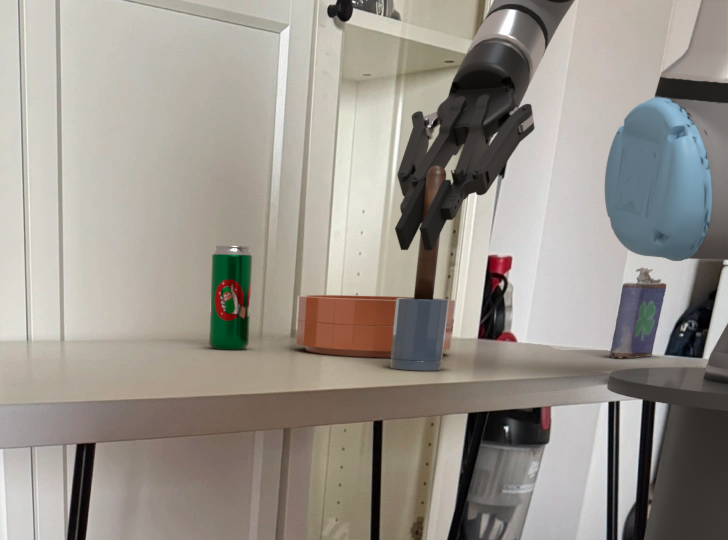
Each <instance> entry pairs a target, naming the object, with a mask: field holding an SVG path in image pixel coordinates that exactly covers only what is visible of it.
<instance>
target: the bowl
mask: <svg viewBox="0 0 728 540" xmlns="http://www.w3.org/2000/svg"><path fill="white" fill-rule="evenodd" d="M396 298H414V296H391V295H390V296H388V295H358V294H357V295H354V294H353V295H351V294H350V295H349V294H348V295H347V294H345V295H344V294H299V295H297V299H296V300H297V303H296V319H295V337H294V343H295V345H298V346H302V347H305V351H306V352H309V353H313V354H320V355H328V356H329V355H330V356H341V357H354V358H355V357H357V358H358V357H359V358H384V359H386V358H387V359H391V348H392V337H393V327H394V317H395V306H396ZM433 299H440V298H439V297H437V298H436V297H433ZM446 299H447V300H449V306H448V315H447V323H446V332H445V341H444V349H443V351H448V350H450V349H451V347H452V339H453V330H454V321H455V310H456V304H457V299H451V298H446Z"/></svg>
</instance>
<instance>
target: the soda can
mask: <svg viewBox="0 0 728 540" xmlns="http://www.w3.org/2000/svg"><path fill="white" fill-rule="evenodd" d="M250 249H251V248H250V246H245V245H215V246H214V251H213V252H212V254H211V269H210V270H211V271H210V301H209V302H210V304H209V306H210V307H209V338H208V339H209V340H208V344H209V346H210V347H211V348H212V349H215V350H223V351H224V350H225V351H240V350H242V351H243V350H245V349H246V348H247V347H248V346H249V343H250V342H249V341H250V340H249V339H250V319H251V318H250V317H251V296H252V295H251V294H252V272H253V255H252V253H251V250H250Z"/></svg>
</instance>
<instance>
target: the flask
mask: <svg viewBox="0 0 728 540" xmlns="http://www.w3.org/2000/svg"><path fill="white" fill-rule="evenodd" d="M653 271H654V270H653V269H652V268H651V269H649V268H647V267H645V268H644V267H640V268H637V269H636V270H635V273H637V272H639V275H638V276H637V277H636V280H637V282H625V283H623V284H622V287H621V293H620V297H619V298H620V300H619V303H618V304H619V305H618V310H617V316H616V320H615V325H614V331H613V336H612V341H611V347H610V350H609V358H613V359H614V358H619V359H623V358H627V359H632V358H640V357H641V358H643V357H646V358H647V357H652V356H653V351H654V345H655V340H656V336H657V331H658V327H659V323H660V318H661V314H662V313H661V312H662V310H663V309H662V307H663V304H664V298H665V295H666V291H667V283H665V282H662V279H661V278H658V279H655V278H653V277H651V275H650V273H651V272H653Z"/></svg>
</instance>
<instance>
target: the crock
mask: <svg viewBox="0 0 728 540" xmlns="http://www.w3.org/2000/svg"><path fill="white" fill-rule="evenodd" d="M447 299H448V298H439V299H433V300H424V299H414V298H396V306H395V317H394V327H393V337H392V348H391V358H390V365H389V367H390V368H391V369H394V370H401V371H415V372H416V371H417V372H434V371H436V372H437V371H441V369H442V362H443V361H442V360H443V358H444V357H443V356H444V350H443V349H444V341H445V332H446V323H447V315H448V306H449V300H447Z"/></svg>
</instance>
